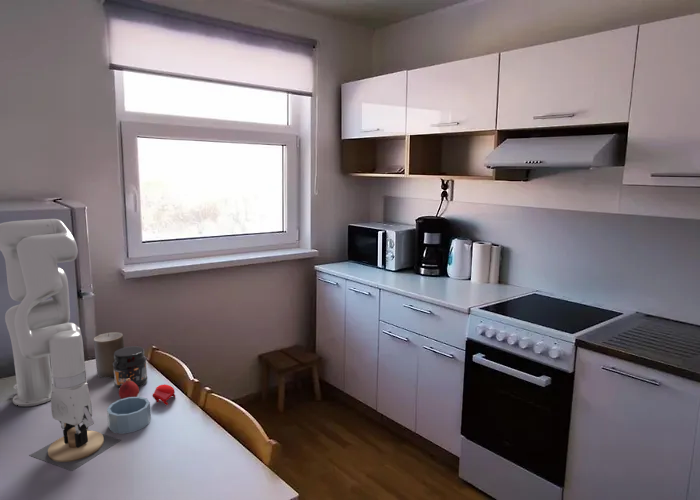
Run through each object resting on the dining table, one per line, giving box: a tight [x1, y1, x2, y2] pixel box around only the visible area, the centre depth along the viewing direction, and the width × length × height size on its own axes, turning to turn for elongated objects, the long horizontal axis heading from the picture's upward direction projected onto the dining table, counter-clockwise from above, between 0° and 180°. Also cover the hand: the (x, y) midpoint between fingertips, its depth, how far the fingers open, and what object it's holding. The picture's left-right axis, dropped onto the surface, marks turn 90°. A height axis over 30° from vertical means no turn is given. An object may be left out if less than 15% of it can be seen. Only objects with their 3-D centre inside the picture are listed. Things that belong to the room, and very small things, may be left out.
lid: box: [48, 427, 104, 462], centre depth 131 cm, size 13×13×5 cm
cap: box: [151, 384, 177, 406], centre depth 158 cm, size 8×6×6 cm
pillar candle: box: [93, 331, 125, 379], centre depth 178 cm, size 10×10×15 cm
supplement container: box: [113, 345, 148, 390], centre depth 169 cm, size 10×10×12 cm
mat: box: [29, 428, 122, 472], centre depth 132 cm, size 16×15×1 cm
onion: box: [118, 378, 140, 399], centre depth 157 cm, size 6×6×8 cm
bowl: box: [106, 396, 152, 434], centre depth 144 cm, size 11×11×6 cm
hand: (76, 442), depth 132 cm, fingers closed on lid, 3 cm apart
